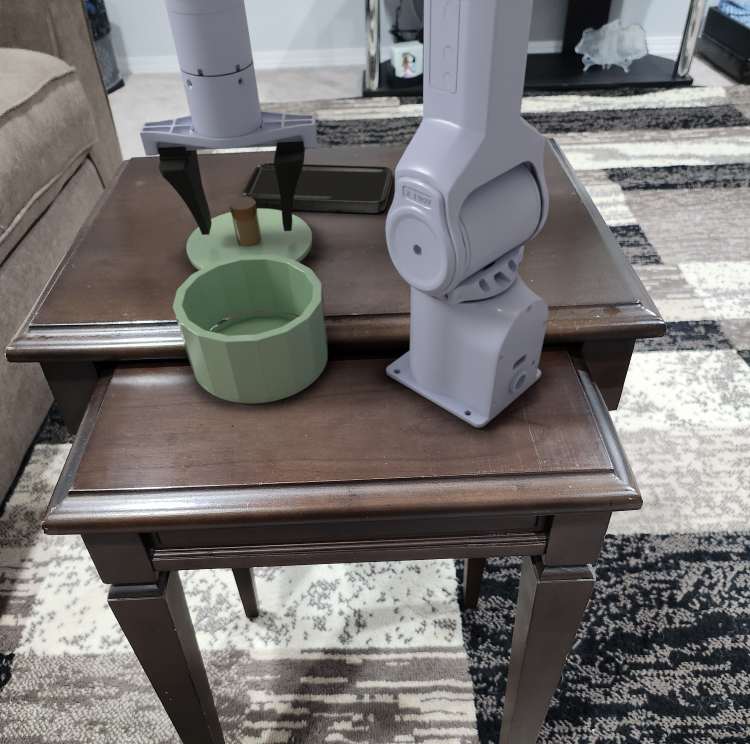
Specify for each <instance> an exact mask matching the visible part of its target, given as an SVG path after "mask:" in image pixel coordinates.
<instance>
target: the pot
mask: <svg viewBox="0 0 750 744" xmlns="http://www.w3.org/2000/svg"><path fill="white" fill-rule="evenodd" d="M323 290H324V289H323V283H322V282H321V281H320V279H319V278H318V276H317V274H316V273H315V272H314V271H313V269H312V268H310V267H308V266H306V265H304V264H302V263H301V262H297V261H295V260H293V259H290V258H285V257H279V256H274V255H267V254H265V255H242V256H236V257H233V258H229V259H225V260H221V261H217V262H214V263H212V264H210V265H209V266H207V267H205V268H203V269H201V270H197V271H196V272H193V273H192V274H190V275H189V277H188V278H187V279H186V280H185V281H184V282H183V283H182V284H181V285H180V286H179V287H178V288H177V290H176V292H175V295H174V296H175V297H174V300H173V304H172V310H173V313H174V316H175V319H176V323H177V326H178V329H179V332H180V333H179V334H180V336H181V339H182V342H183V345H184V349H185V352H186V355H187V358H188V362H189V364H190V368H191V370H192V372H193V374H194V378H195V379H196V381H197V383H198V384H199V385H200V386H201V388H203V389H204V390H205V391H206V392H207V393H209V394H211V395H212V396H214V397H216V398H219V399H220V400H221V399H222V400H224V401H228V402H233V403H238V404H265V403H270V402H276V401H279V400H283V399H286V398H289V397H292V396H294V395H296V394H298V393H300V392H302V391H304V389H307V388H308V387H309V386H310V385H312V384H313V383H314V382H315V381H316V380H317V379H318V378H319V377H320V375H321V374H322V373H323V372H324V371H325V368H326V366H327V364H328V363H327V362H328V358H329V339H328V330H327V320H326V310H325V299H324V291H323ZM262 310H275V311H268V312H251V313H247V314H244V315H240V316H237V317H233V318H230V319H228V320H227V321H225V322H223V323H222V324H220V325H218V326H217V327H215V328H213V329H212V330H211V331H210V329H211V328H212V327H213V326H215V325H216V324H217V323H218V322H220V321H222V320H223V319H225V318H227V317H229V316H233V315H238V314H241V313H246V312H250V311H262ZM276 311H282V312H287V313H292V314H296V315H298V316H299V317H297V316H295V315H290V314H285V313H281V312H276Z"/></svg>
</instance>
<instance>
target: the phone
mask: <svg viewBox="0 0 750 744" xmlns="http://www.w3.org/2000/svg"><path fill="white" fill-rule="evenodd" d="M392 185H393V170H392V169H391V168H389V167H387V166H373V165H371V166H369V165H344V164H343V165H342V164H341V165H339V164H337V165H336V164H313V163H312V164H311V163H310V164H309V163H307V164H306V163H303V167H302V170H301V173H300V176H299V179H298V182H297V186H296V190H295V194H294V199H293V204H292V211H312V212H313V211H315V212H337V213H339V212H340V213H365V214H378V213H381V212H385V210H386V209H387V206H388V201H389V197H390V194H391V189H392ZM242 197H249V198H252V199H254V200H255V202H256V207H257V209H259V208H263V209H274V210H282V207H281V197H280V191H279V186H278V181H277V176H276V171H275V167H274V162H264V163H260V164H257V166H256V167H254V170H253V172H252V174H251V176H250V178H249V180H248V181H247V183H246V185H245V187H244V189H243V191H242Z"/></svg>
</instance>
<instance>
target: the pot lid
mask: <svg viewBox="0 0 750 744" xmlns="http://www.w3.org/2000/svg"><path fill="white" fill-rule="evenodd" d="M229 210H230V211H229V212H225V213H223V214H219V215H217V216H215V217H211V222H212V225H211V229H210V233H209V235H202V233H201V231H200V229H199V227H198V226H197V227H196V228H195V229H194V230H193V232H191V234H190V235H189V237H188V239H187V241H186V247H185V249H186V255H187V258H188V260H189V262H190V263H191V264H192V266H193V267H194V268H195V269H197V271H199V270H201V269H203V268H205V267H207V266H209V265H210V264H212V263H214V262H217V261H221V260H225V259H229V258H233V257H236V256H242V255H265V254H267V255H274V256H279V257H285V258H290V259H293V260H295V261H297V262H299V263H301V262H302V261H303V260H304V259H305V258H306V257H307V256H308V255H309V253H310V252H311V249H312V246H313V233H312V230H311V228H310V226H309V224H307V222H306V221H304V220H303V219H302V218H301V217H299V216H297V215H296V214H293V213H292V220H293V221H292V230H291V231H284V228H283V223H282V210H281V209H263V208H257V207H256V202H255V200H254V199H252V198H249V197H243V196H240V197H237V198H234V199H233V200H231V201H230V203H229Z"/></svg>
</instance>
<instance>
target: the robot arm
mask: <svg viewBox="0 0 750 744" xmlns="http://www.w3.org/2000/svg"><path fill="white" fill-rule="evenodd" d="M164 3H165V8H166V13H167V17H168V22H169V25H170V30H171V35H172V38H173V43H174V47H175V48H174V49H175V51H176V57H177V61H178V66H179V70H180V75H181V79H182V83H183V88H184V93H185V95H186V100H187V104H188V105H187V106H188V108H189V113H190V115H185V116H181V117H175V118H170V119H163V120H157V121H147V122H143V124H142V126H141V128H140V130H139V136H140V140H141V144H142V146H143V147H142V148H143V149H144V153H145V156H146V157H149V156H150V157H152V156H159V157H158V158H159V164H158V170H159V172H160V174H161V176H162V177H163V178H164V179H165V180H166V182H168V184H169V185H170V186H172V189H174V190H175V191H176V193H177V195H179V197H180V198H181V199H182V201H183V202H184V204H185V205H186V207H187V209H188V210H189V211H190V212H189V213H191V215H192V216H193V219H194V221H195V222H196V225H197V228H198V227H199V229H200V231H201V233H202V235H209V233H210V229H211V225H212V222H211V219H212V216H211V211H210V208H209V204H208V200H207V197H206V192H205V190H204V186H203V181H202V176H201V169H200V163H199V157H198V152H197V151H205V150H206V151H207V150H208V151H209V150H231V149H250V148H274V147H275V153H274V157H273V158H274V159H273V163H274V167H275V171H276V176H277V181H278V186H279V191H280V197H281V207H282V209H281V211H282V223H283V228H284V231H291V230H292V221H293V220H292V214H293V210H292V204H293V199H294V194H295V190H296V186H297V182H298V179H299V176H300V173H301V170H302V167H303V164H305V163H304V162H305V155H306V154H305V153H306V149H317V147H318V133H317V132H318V131H317V122H316V121H317V120H316V115H315V114H294V113H293V114H292V113H284V112H276V111H268V110H267V111H266V110H261V103H260V98H259V91H258V83H257V78H256V76H257V75H256V69H255V63H254V57H253V51H252V44H251V38H250V32H249V31H250V30H249V23H248V18H247V11H246V10H247V9H246V5H245V0H164ZM533 6H534V0H423V71H422V72H423V79H422V80H423V81H422V82H423V84H422V85H423V87H422V89H423V90H422V91H423V92H422V94H423V96H422V120H421V122H420V125H419V126H418V128H417V130H416V132H415V133H414V135H413V137H412V138H411V140H410V141H409V144H408V145H407V147H406V148H405V150H404V151H403V154H402V156H401V158H400V159H399V161H398V163H397V165H396V167H395V170H394V194H393V198H392V203H391V205H390V207H389V209H388V212H387V216H386V219H385V239H386V245H387V251H388V254H389V257H390V259H391V262H392V263H393V266H394V267H395V269H396V271H397V272H398V273H399V275H400V277H402V279H403V280H404V281H405V282H406V283H408V285H410V311H409V312H410V314H409V319H410V320H409V350H408V351H407V352H405V353H404V354H402V355H401V356H400V357H398V358H397V359H396V360H395V361H393V362H392V363H390V364H389V365H388V366H386V368H385V373H386V375H387V376H389V377H390V378H392V379H393V380H395V381H397V382H399V383H400V384H401V385H404V386H405V387H406V388H409V389H410V390H412V391H414V392H415V393H417V394H419V395H420V396H421V397H424V398H425V399H427V400H429V401H430V402H432V403H434V404H436V405H437V406H439V407H440V408H442V409H444V410H445V411H448V412H449V413H450V414H453V415H454V416H456V417H457V418H459V419H461V420H462V421H464V422H466V423H467V424H469V425H471V426H473V427H475V428H478V429H480V428H484V427H485V426H486V425H487V424H489V423H490V422H491V421H492V420H493V419H494V418H496V417H497V415H499V414H500V413H501V412H502V411H504V410H505V408H508V406H509V405H510V404H512V403H513V402H514V401H515V400H517V399H518V397H520V396H521V395H522V394H523V393H524V392H525V391H527V390H528V389H529V388H530V387H531V386H532V385H533V384H534V383H536V382H537V381H538V380H539V379H541V376H542V370H541V369H539V364H540V360H541V355H542V350H543V345H544V341H545V340H544V339H545V335H546V332H547V331H546V330H547V325H548V320H549V306H548V303H547V301H546V300H545V299H544V298H542V297H541V296H539V295H538V294H536V293H535V292H534V291H533V290H532V289H530V288H529V287H528V286H527V284H526V283H525V282H524V281H523V280H522V278H521V276H520V274H519V273H518V269H519V263H521V262H522V261H523V257H524V251H525V244H526V243H528V242H530V241H531V240H533V239H534V238H535V237H537V236H538V235H539V233H540V232H541V230H542V229H543V228H544V226H545V224H546V222H547V218H548V215H549V208H550V197H549V189H548V185H547V181H546V178H545V177H546V176H545V172H544V155H545V147H546V138H545V137H544V136H543V134H542V133H541V132H540V131H539V130H538V129H537V128H535V127H534V126H533V125H531V124H530V123H529V122H528V121H527V120H526V119H525V118H523V116H521V113H522V104H523V95H524V86H525V78H526V68H527V61H528V60H527V59H528V52H529V51H528V50H529V43H530V42H529V41H530V32H531V23H532V15H533Z"/></svg>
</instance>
